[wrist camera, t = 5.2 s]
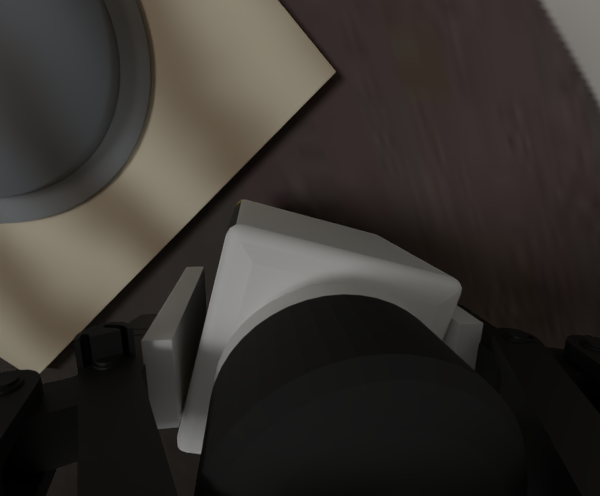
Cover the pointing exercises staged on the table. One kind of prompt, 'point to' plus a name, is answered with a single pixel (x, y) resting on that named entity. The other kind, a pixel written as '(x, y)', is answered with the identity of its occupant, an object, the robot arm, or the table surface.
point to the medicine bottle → (338, 373)
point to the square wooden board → (125, 141)
